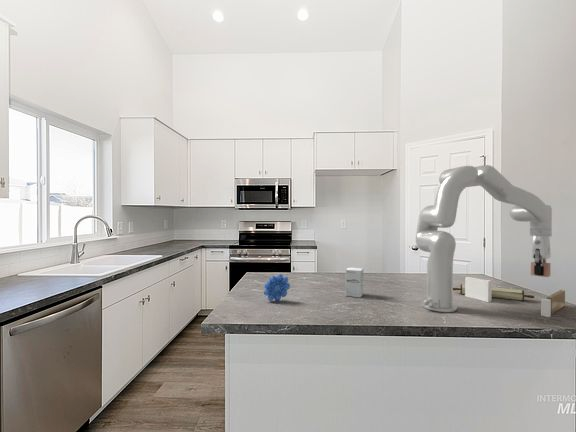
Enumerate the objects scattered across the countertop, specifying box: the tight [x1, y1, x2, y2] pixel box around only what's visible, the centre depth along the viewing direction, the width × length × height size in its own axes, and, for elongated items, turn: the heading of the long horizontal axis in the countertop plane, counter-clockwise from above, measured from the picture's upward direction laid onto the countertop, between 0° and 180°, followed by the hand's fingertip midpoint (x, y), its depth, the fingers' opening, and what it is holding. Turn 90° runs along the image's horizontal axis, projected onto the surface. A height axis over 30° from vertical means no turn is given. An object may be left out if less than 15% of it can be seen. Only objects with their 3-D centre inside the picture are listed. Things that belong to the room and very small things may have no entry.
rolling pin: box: [453, 283, 535, 302], centre depth 147 cm, size 32×6×5 cm, turn 60°
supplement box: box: [344, 267, 364, 299], centre depth 150 cm, size 7×7×13 cm
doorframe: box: [464, 276, 552, 318], centre depth 134 cm, size 5×33×9 cm, turn 31°
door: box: [545, 289, 566, 315], centre depth 127 cm, size 2×21×6 cm, turn 127°
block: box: [530, 261, 551, 278], centre depth 139 cm, size 4×6×6 cm
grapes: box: [263, 273, 291, 302], centre depth 140 cm, size 12×7×12 cm, turn 95°
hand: (540, 273), depth 139 cm, fingers closed on block, 4 cm apart
